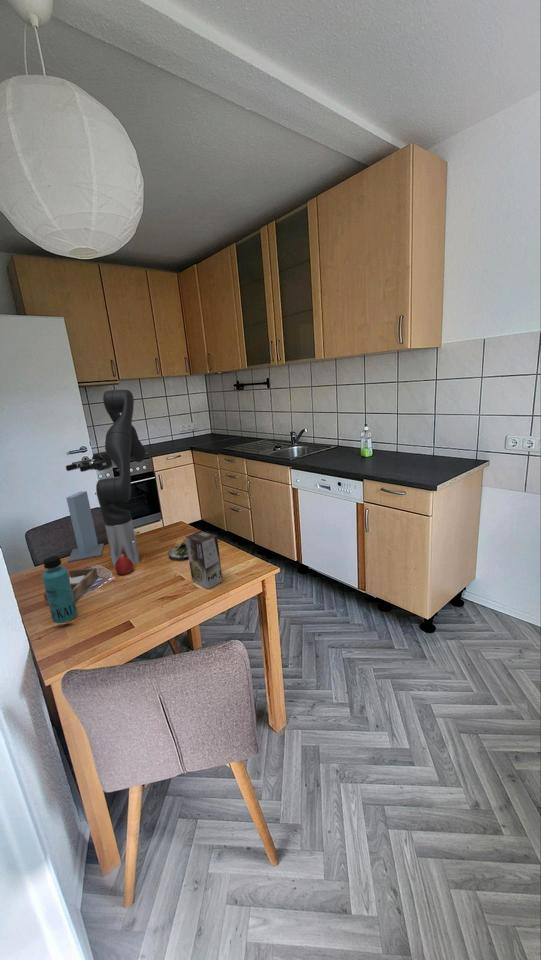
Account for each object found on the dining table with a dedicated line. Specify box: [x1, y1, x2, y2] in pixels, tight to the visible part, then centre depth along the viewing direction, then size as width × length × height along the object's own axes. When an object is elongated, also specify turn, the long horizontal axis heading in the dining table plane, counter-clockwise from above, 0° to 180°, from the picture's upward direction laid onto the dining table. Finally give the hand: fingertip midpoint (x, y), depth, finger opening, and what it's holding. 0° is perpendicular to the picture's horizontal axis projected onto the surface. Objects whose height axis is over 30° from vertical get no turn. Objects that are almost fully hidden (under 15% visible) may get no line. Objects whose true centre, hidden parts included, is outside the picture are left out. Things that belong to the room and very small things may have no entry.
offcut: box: [69, 575, 85, 584], centre depth 126 cm, size 5×6×2 cm
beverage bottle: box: [41, 555, 78, 624], centre depth 107 cm, size 6×7×20 cm
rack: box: [43, 567, 99, 606], centre depth 123 cm, size 16×9×5 cm, turn 178°
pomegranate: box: [114, 554, 134, 576], centre depth 133 cm, size 6×6×8 cm
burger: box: [167, 538, 188, 562], centre depth 146 cm, size 12×12×8 cm
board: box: [66, 490, 99, 555], centre depth 153 cm, size 8×3×24 cm, turn 168°
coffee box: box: [184, 530, 224, 590], centre depth 123 cm, size 9×6×16 cm
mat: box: [67, 543, 105, 563], centre depth 155 cm, size 12×12×1 cm
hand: (73, 468), depth 153 cm, fingers open, 8 cm apart
